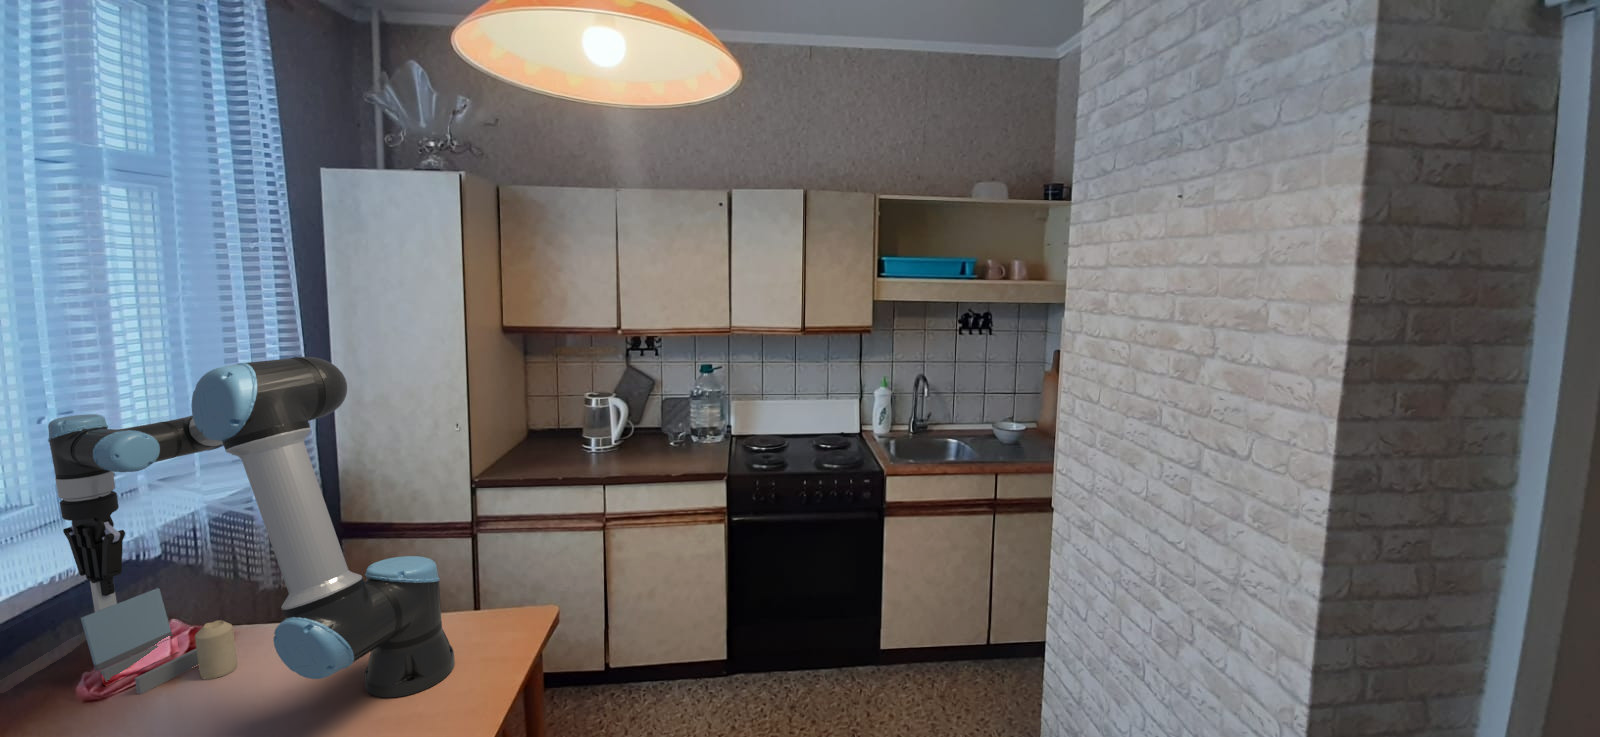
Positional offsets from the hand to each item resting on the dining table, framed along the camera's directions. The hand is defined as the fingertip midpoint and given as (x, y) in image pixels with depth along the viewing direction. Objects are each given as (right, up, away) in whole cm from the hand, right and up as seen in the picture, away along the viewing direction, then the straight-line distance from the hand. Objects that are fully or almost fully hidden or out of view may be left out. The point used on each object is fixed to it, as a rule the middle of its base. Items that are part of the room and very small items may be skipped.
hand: (106, 609), depth 130 cm
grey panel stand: (+12, -12, -1) cm, 17 cm away
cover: (+6, -3, -1) cm, 7 cm away
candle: (+23, -12, -1) cm, 26 cm away
